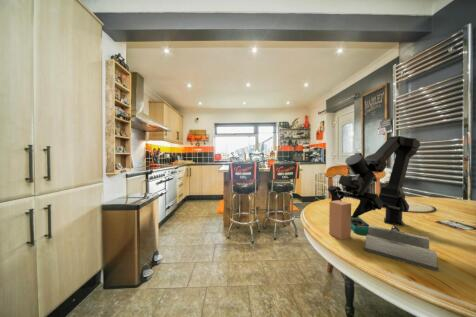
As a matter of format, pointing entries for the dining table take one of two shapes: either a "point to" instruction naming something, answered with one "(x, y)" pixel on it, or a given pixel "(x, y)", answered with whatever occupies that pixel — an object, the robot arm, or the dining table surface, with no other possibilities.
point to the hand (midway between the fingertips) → (341, 213)
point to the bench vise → (401, 246)
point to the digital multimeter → (359, 225)
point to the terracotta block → (340, 219)
